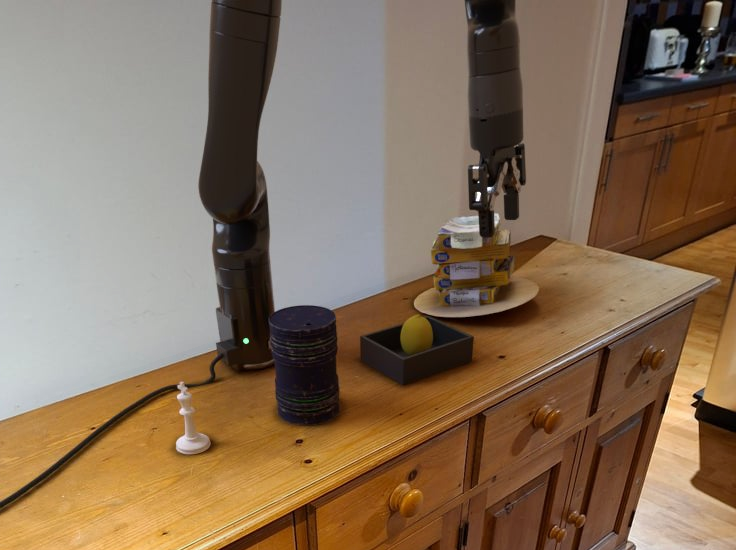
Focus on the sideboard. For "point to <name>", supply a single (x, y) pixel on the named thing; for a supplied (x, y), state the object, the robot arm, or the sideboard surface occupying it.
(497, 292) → the plate of stacked packets
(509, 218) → the robot arm
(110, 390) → the sideboard surface
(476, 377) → the sideboard surface
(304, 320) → the storage jar
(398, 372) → the bin
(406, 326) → the lemon
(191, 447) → the chess piece
